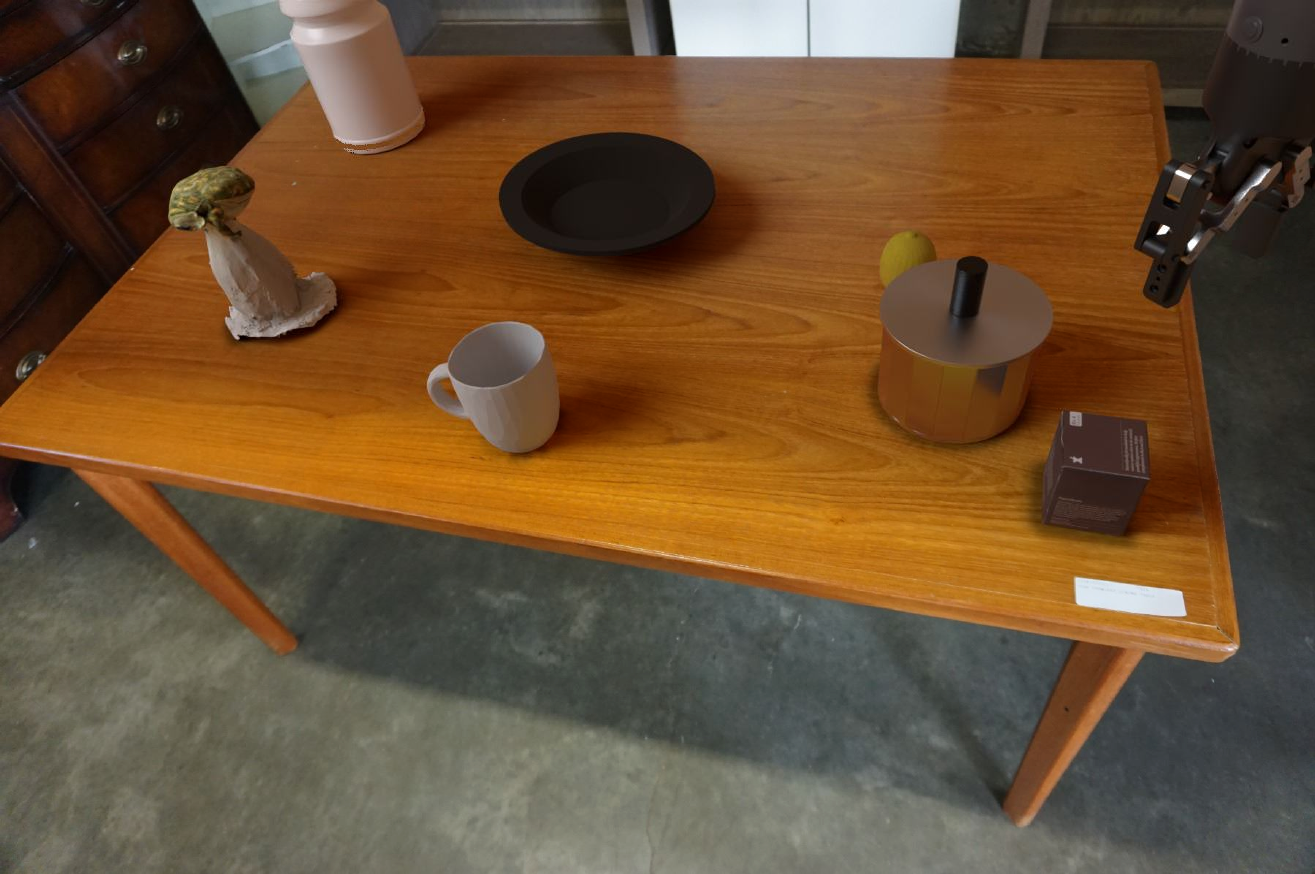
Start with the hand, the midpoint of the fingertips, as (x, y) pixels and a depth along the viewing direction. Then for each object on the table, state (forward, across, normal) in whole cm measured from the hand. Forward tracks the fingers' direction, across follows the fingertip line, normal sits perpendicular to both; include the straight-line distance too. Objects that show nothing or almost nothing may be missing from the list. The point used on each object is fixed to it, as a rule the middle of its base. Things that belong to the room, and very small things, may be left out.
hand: (1204, 275), depth 56 cm
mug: (+19, -42, +36) cm, 58 cm away
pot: (+19, -6, +14) cm, 24 cm away
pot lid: (+9, -6, +14) cm, 18 cm away
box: (+19, -6, -1) cm, 20 cm away
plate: (+18, -18, +60) cm, 65 cm away
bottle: (+18, -34, +106) cm, 112 cm away
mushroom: (+18, -57, +70) cm, 92 cm away
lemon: (+19, 0, +28) cm, 33 cm away
